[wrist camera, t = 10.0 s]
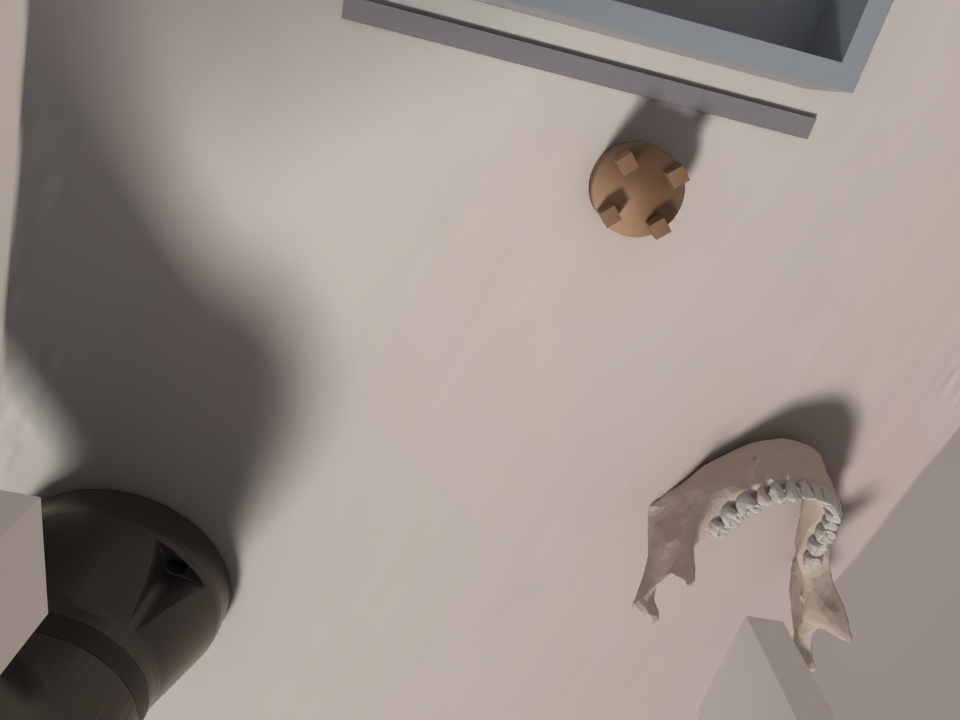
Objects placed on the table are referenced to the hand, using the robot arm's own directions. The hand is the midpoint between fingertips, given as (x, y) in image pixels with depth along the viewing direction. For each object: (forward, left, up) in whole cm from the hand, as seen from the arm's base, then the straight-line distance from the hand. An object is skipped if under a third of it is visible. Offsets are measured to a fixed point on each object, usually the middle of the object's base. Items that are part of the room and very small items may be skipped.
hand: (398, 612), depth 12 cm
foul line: (+4, +10, -26) cm, 29 cm away
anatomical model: (+22, -13, -27) cm, 37 cm away
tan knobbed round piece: (+8, +6, -26) cm, 28 cm away
